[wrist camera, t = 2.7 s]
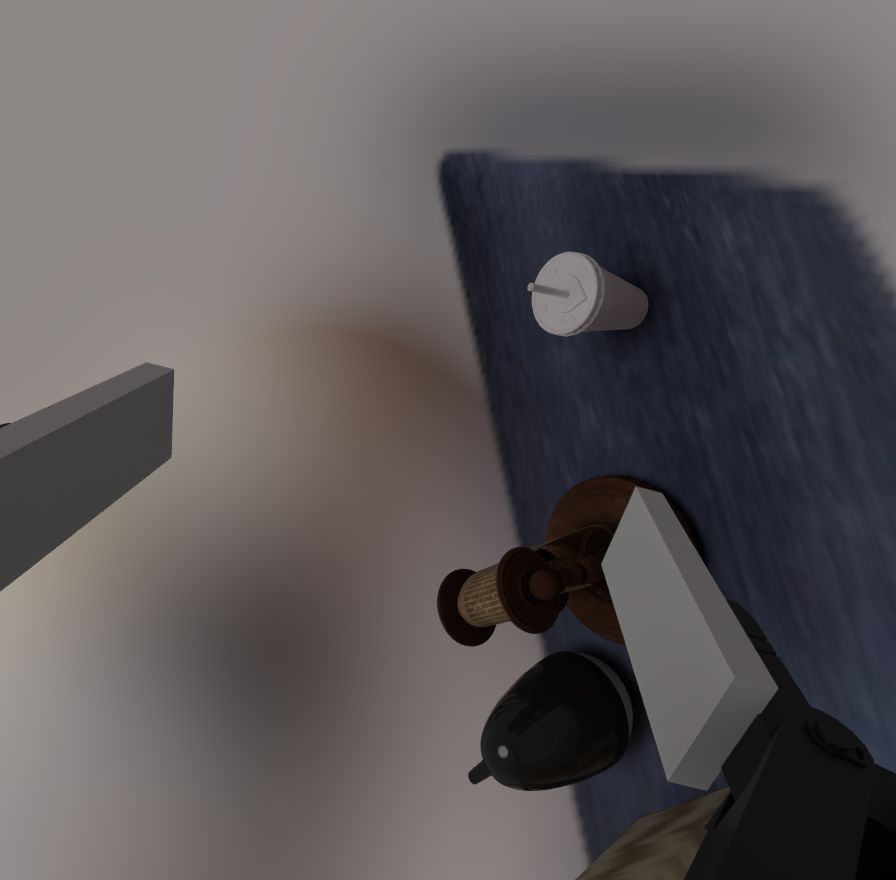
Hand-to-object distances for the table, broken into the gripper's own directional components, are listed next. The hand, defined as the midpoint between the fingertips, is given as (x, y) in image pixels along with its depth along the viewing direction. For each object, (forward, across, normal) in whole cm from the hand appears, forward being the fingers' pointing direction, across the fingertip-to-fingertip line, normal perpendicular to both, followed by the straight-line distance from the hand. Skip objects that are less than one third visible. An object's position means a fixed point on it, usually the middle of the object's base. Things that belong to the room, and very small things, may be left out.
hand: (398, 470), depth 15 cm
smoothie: (+36, -15, -2) cm, 40 cm away
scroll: (+29, -21, +18) cm, 40 cm away
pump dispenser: (+26, -23, +32) cm, 47 cm away
